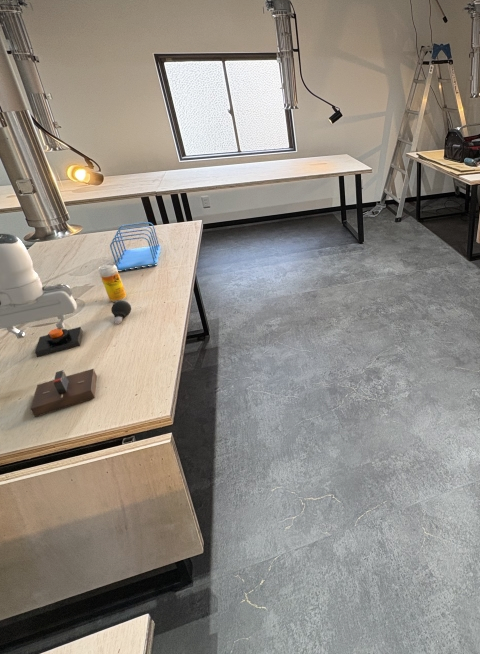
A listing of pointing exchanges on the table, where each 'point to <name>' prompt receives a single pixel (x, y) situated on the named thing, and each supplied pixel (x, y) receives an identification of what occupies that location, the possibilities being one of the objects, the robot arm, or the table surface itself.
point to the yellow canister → (112, 282)
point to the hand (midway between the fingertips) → (41, 332)
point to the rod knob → (61, 382)
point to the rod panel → (77, 392)
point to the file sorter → (136, 250)
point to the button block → (59, 342)
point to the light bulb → (120, 310)
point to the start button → (55, 333)
